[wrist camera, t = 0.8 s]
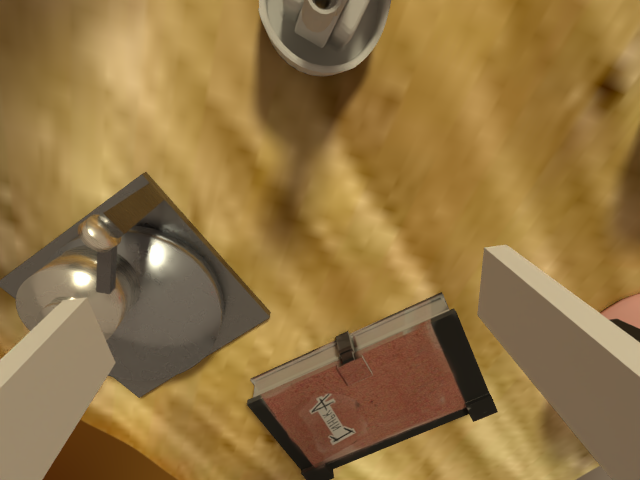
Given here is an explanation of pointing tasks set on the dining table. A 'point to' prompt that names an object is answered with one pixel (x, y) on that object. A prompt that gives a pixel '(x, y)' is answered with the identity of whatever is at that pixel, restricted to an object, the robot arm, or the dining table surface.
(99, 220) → the stand
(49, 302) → the cover
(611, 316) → the cake
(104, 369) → the robot arm
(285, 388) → the book
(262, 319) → the base plate
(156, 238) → the turntable
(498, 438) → the dining table surface
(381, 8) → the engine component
